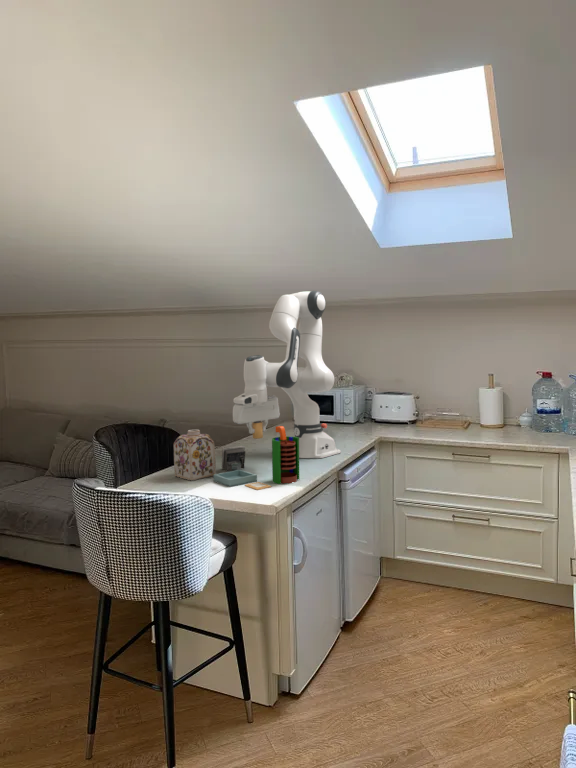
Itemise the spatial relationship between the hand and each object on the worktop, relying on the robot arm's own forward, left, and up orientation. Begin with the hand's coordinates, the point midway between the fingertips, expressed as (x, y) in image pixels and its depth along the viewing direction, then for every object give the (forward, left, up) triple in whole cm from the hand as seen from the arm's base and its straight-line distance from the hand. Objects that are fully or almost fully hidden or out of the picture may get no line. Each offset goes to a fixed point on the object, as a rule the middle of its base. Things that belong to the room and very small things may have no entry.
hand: (257, 432), depth 234 cm
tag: (+13, +19, -16) cm, 28 cm away
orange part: (0, 0, -2) cm, 2 cm away
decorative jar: (+22, -11, -16) cm, 30 cm away
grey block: (+10, -2, -16) cm, 19 cm away
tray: (+15, +7, -16) cm, 23 cm away
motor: (+1, +19, -16) cm, 25 cm away
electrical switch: (+4, -11, -16) cm, 20 cm away
